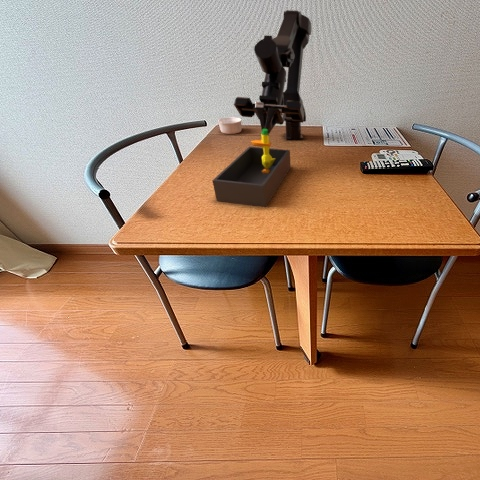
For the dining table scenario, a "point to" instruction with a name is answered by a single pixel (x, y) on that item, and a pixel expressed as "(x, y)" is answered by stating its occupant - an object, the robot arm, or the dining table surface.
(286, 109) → the robot arm
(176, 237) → the dining table surface
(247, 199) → the bin
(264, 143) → the toy figure
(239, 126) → the ramekin
